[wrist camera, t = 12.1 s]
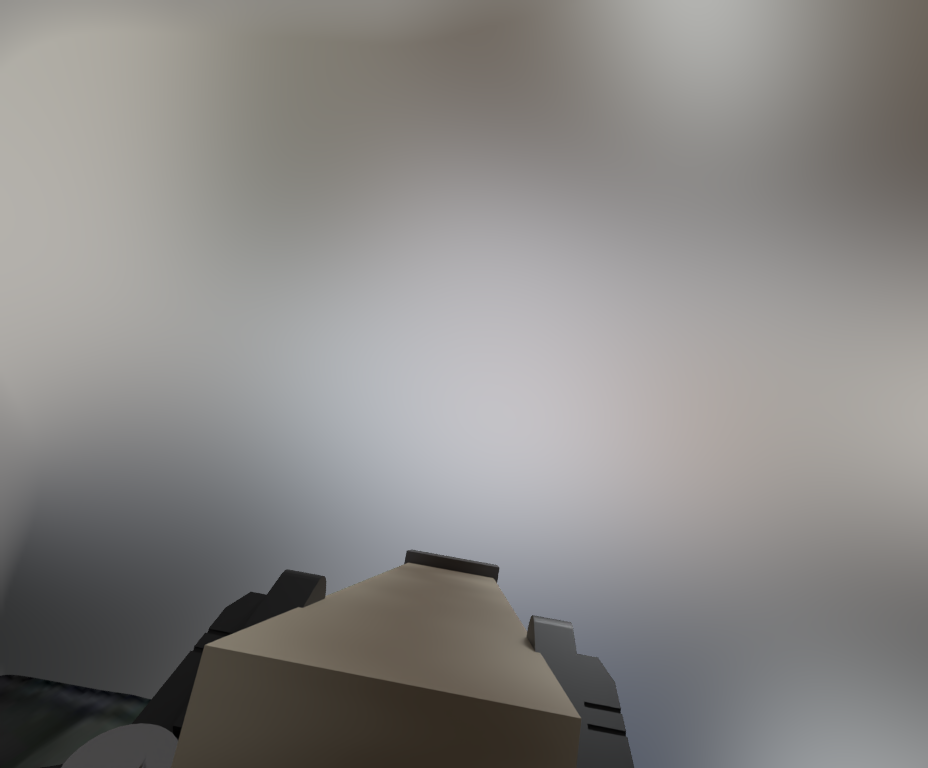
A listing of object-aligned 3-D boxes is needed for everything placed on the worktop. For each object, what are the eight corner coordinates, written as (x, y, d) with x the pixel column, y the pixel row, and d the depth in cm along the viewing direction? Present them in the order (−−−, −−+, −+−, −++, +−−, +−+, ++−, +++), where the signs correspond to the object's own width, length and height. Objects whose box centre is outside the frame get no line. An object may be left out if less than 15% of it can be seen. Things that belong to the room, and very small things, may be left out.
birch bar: (484, 649, 27) (496, 564, 28) (558, 1181, 5) (605, 668, 6) (396, 633, 27) (411, 549, 28) (66, 1064, 5) (200, 592, 6)
